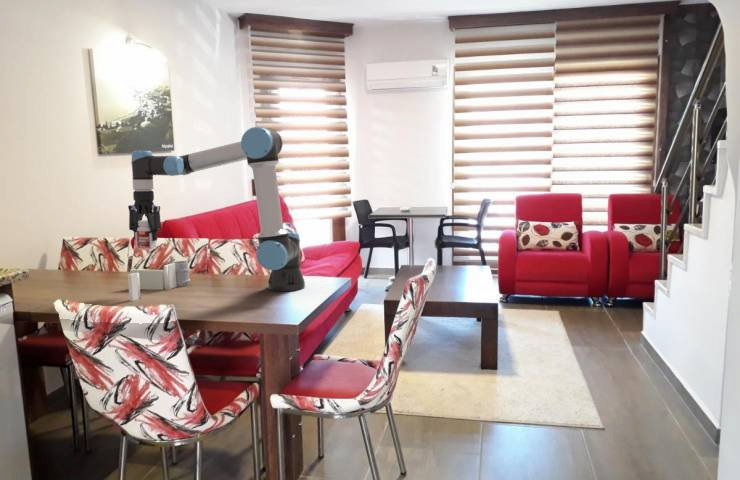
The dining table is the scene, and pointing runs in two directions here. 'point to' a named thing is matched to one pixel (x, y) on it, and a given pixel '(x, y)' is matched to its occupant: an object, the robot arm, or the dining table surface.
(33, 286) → the dining table surface
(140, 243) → the pill bottle
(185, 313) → the dining table surface
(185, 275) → the mug
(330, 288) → the dining table surface
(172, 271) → the frame
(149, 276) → the grey green panel
